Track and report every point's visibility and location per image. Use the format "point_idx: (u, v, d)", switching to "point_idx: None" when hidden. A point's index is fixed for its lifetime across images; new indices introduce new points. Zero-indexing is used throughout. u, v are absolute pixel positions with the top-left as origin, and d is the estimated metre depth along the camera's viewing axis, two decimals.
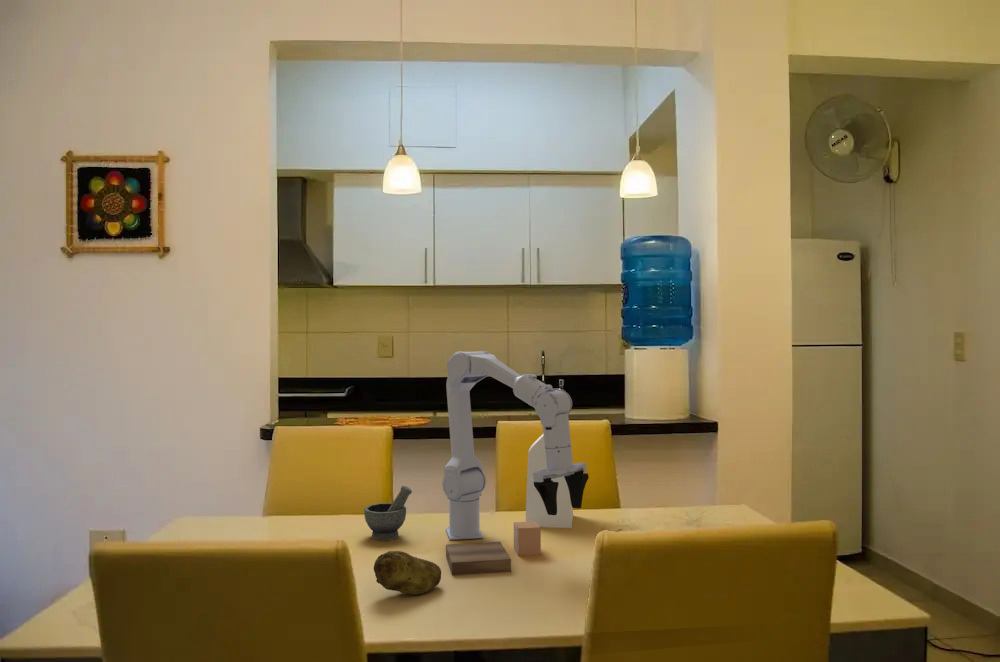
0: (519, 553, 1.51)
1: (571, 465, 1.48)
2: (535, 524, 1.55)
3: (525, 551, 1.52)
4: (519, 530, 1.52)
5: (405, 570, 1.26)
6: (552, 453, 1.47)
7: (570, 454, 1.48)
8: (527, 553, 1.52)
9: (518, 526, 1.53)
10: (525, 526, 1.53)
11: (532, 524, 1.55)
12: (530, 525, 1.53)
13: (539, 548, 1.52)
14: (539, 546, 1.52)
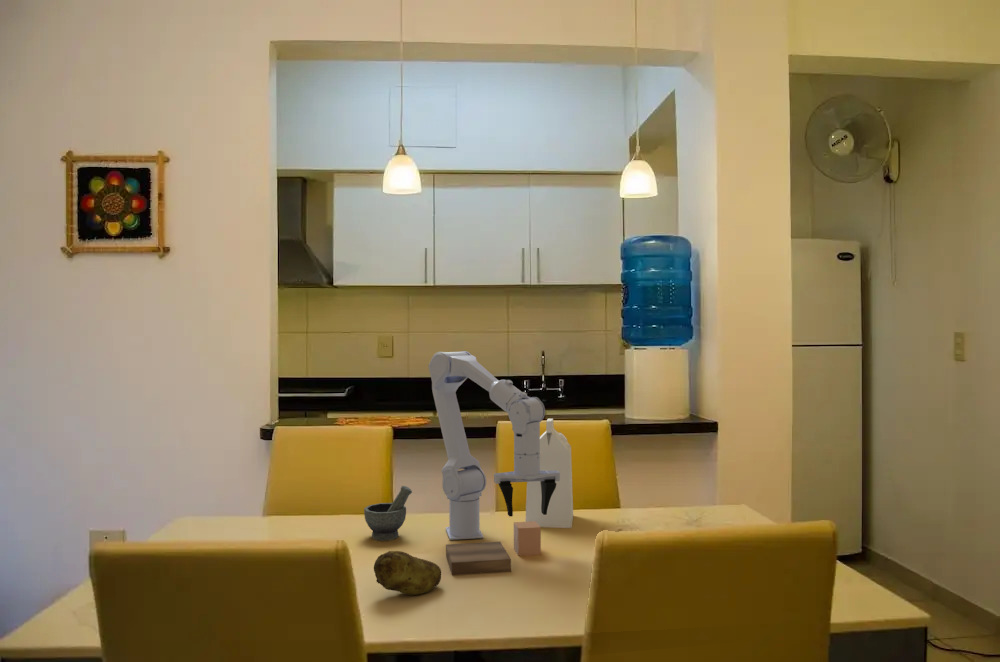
0: (519, 553, 1.51)
1: (532, 473, 1.52)
2: (535, 524, 1.55)
3: (525, 551, 1.52)
4: (519, 530, 1.52)
5: (405, 570, 1.27)
6: (515, 458, 1.53)
7: (532, 462, 1.52)
8: (527, 553, 1.52)
9: (518, 526, 1.53)
10: (525, 526, 1.53)
11: (532, 524, 1.55)
12: (530, 525, 1.53)
13: (539, 548, 1.52)
14: (539, 546, 1.52)
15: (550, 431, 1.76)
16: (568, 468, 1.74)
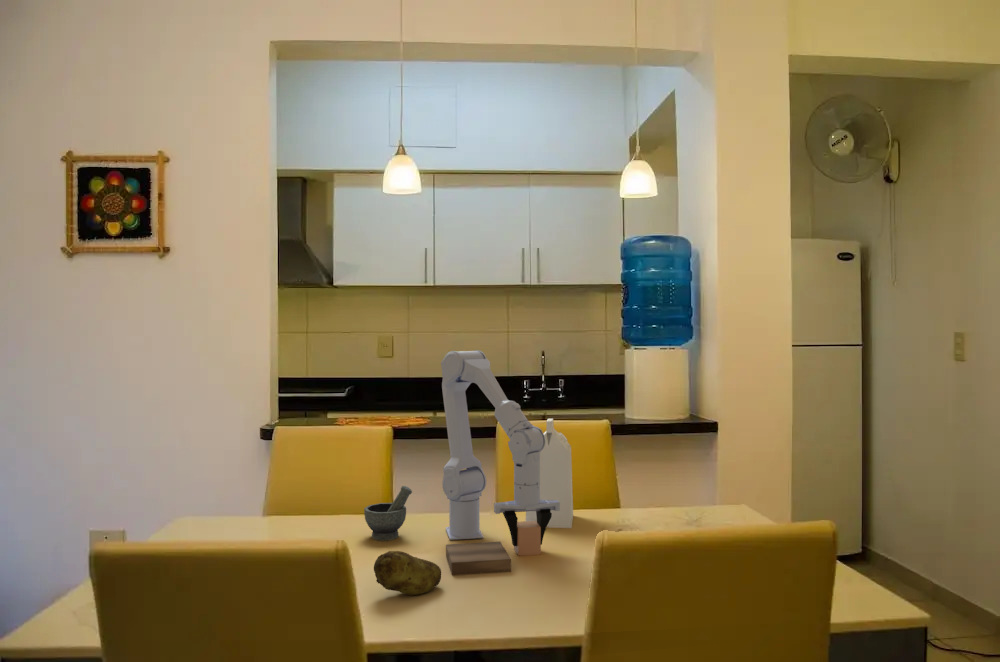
0: (519, 553, 1.51)
1: (532, 503, 1.52)
2: (535, 523, 1.55)
3: (525, 550, 1.52)
4: (519, 530, 1.52)
5: (405, 570, 1.27)
6: (515, 488, 1.53)
7: (532, 492, 1.52)
8: (527, 553, 1.52)
9: (518, 526, 1.53)
10: (525, 526, 1.53)
11: (532, 523, 1.55)
12: (530, 525, 1.53)
13: (539, 548, 1.52)
14: (539, 546, 1.52)
15: (550, 431, 1.76)
16: (568, 468, 1.74)
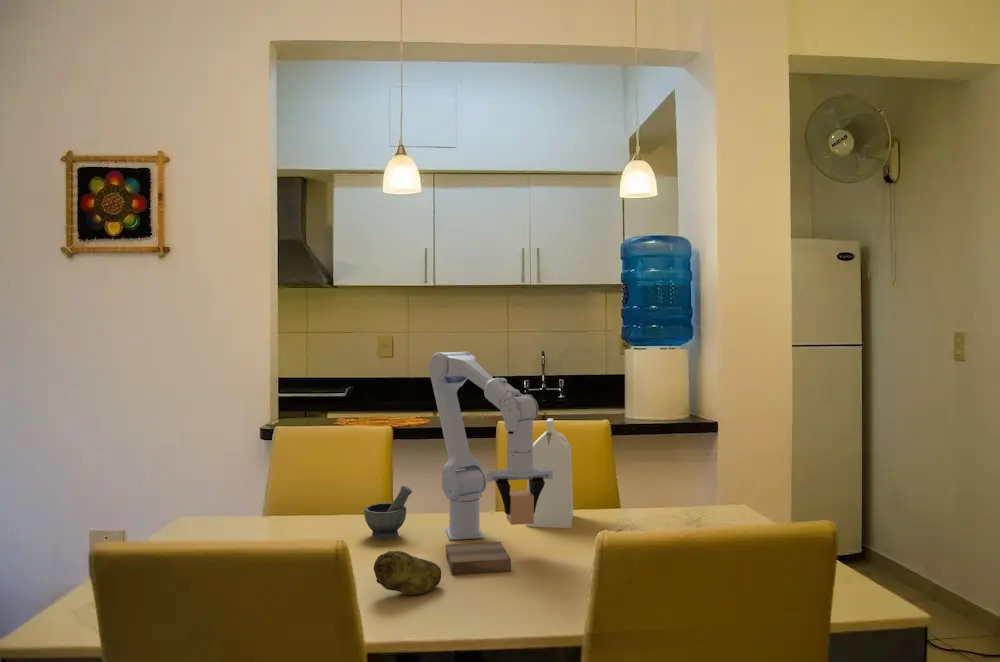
0: (512, 522, 1.50)
1: (525, 471, 1.51)
2: (528, 493, 1.54)
3: (518, 519, 1.50)
4: (512, 498, 1.50)
5: (405, 570, 1.27)
6: (508, 456, 1.52)
7: (525, 460, 1.51)
8: (520, 522, 1.51)
9: (511, 495, 1.52)
10: (518, 495, 1.52)
11: (525, 493, 1.54)
12: (523, 494, 1.52)
13: (532, 517, 1.51)
14: (532, 515, 1.51)
15: (550, 431, 1.76)
16: (568, 468, 1.74)
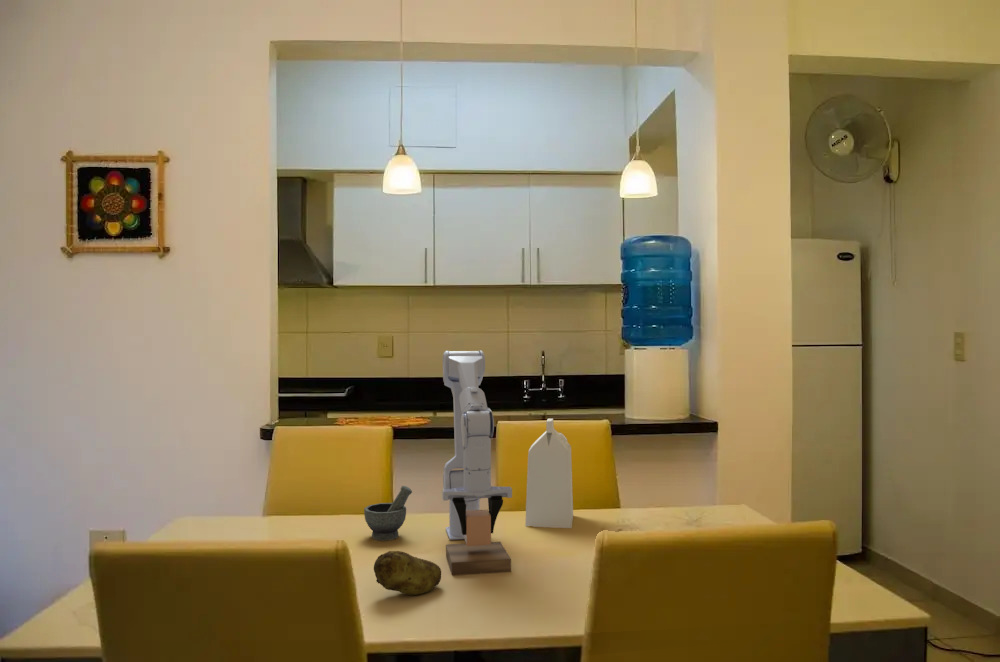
0: (468, 543, 1.43)
1: (482, 489, 1.44)
2: (486, 512, 1.47)
3: (474, 540, 1.44)
4: (468, 518, 1.43)
5: (405, 570, 1.27)
6: (464, 474, 1.45)
7: (482, 478, 1.44)
8: (476, 543, 1.44)
9: (467, 514, 1.45)
10: (475, 514, 1.45)
11: (483, 512, 1.47)
12: (480, 514, 1.45)
13: (489, 538, 1.44)
14: (489, 535, 1.44)
15: (550, 431, 1.76)
16: (568, 468, 1.74)
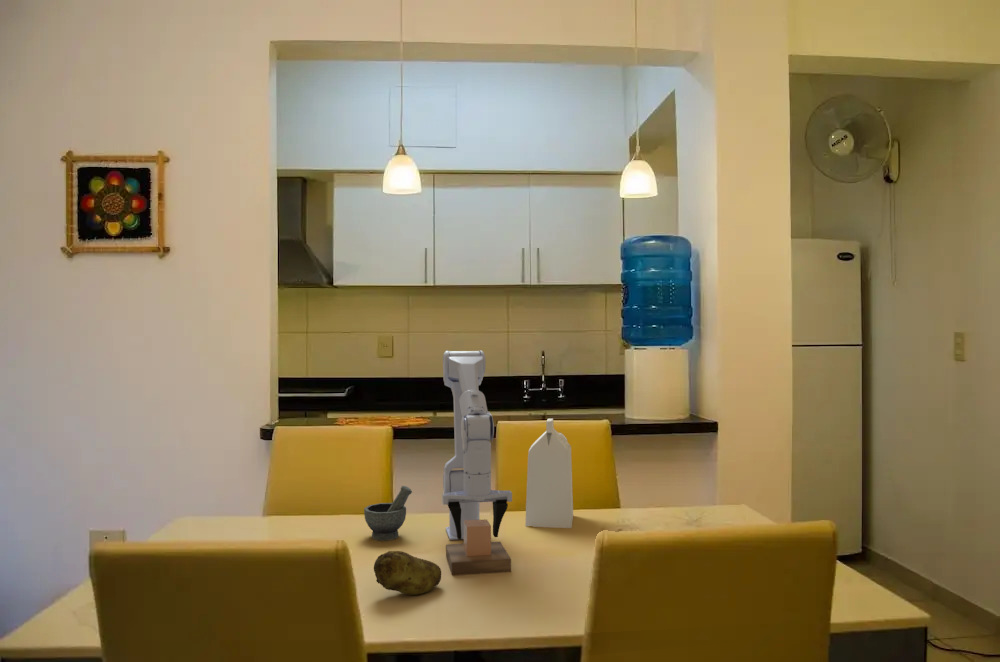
0: (468, 553, 1.43)
1: (482, 493, 1.44)
2: (486, 522, 1.47)
3: (474, 550, 1.44)
4: (468, 529, 1.43)
5: (405, 570, 1.27)
6: (464, 478, 1.45)
7: (482, 482, 1.44)
8: (476, 553, 1.44)
9: (467, 524, 1.45)
10: (475, 524, 1.45)
11: (483, 522, 1.47)
12: (480, 524, 1.45)
13: (489, 548, 1.44)
14: (489, 545, 1.44)
15: (550, 431, 1.76)
16: (568, 468, 1.74)
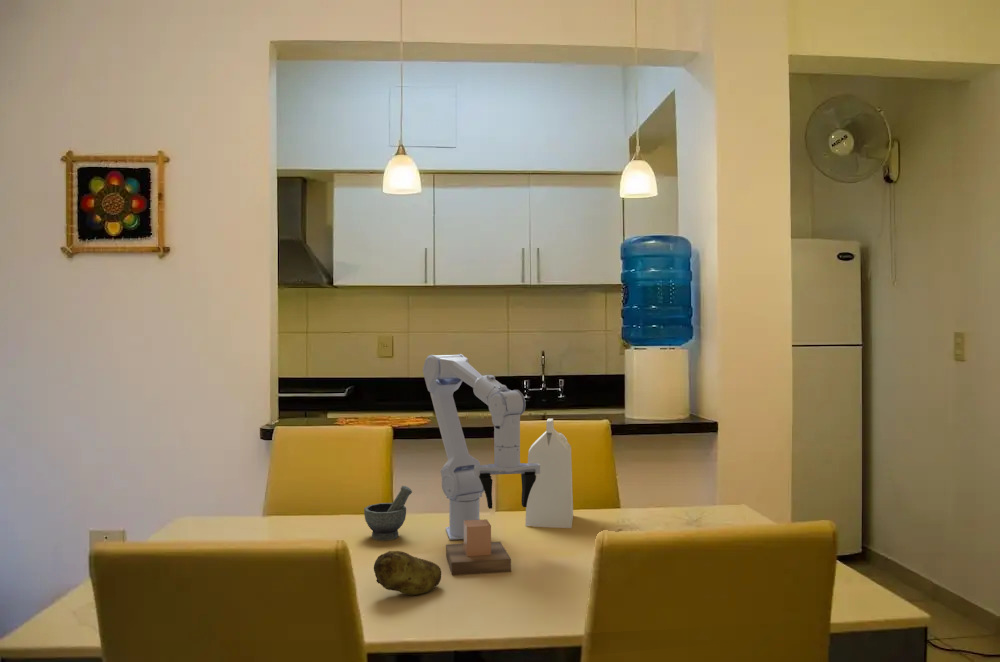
0: (468, 553, 1.43)
1: (512, 465, 1.52)
2: (486, 522, 1.47)
3: (474, 550, 1.44)
4: (468, 529, 1.43)
5: (405, 570, 1.27)
6: (495, 450, 1.53)
7: (512, 455, 1.52)
8: (476, 553, 1.44)
9: (467, 524, 1.45)
10: (475, 524, 1.45)
11: (483, 522, 1.47)
12: (480, 524, 1.45)
13: (489, 548, 1.44)
14: (489, 545, 1.44)
15: (550, 431, 1.76)
16: (568, 468, 1.74)
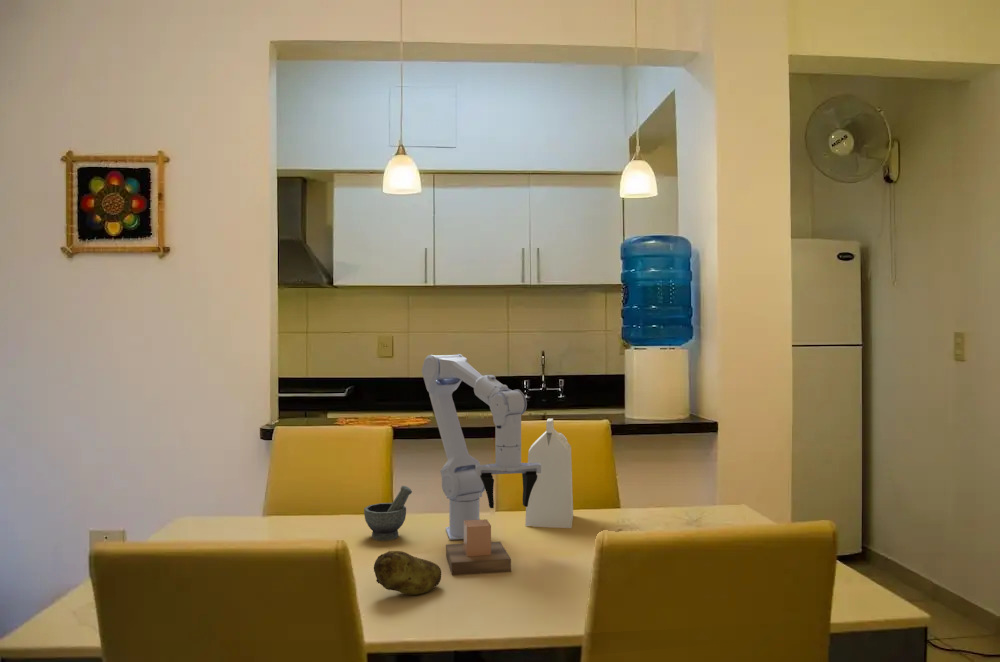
0: (468, 553, 1.43)
1: (513, 465, 1.52)
2: (486, 522, 1.47)
3: (474, 550, 1.44)
4: (468, 529, 1.43)
5: (405, 570, 1.27)
6: (496, 450, 1.53)
7: (513, 454, 1.52)
8: (476, 553, 1.44)
9: (467, 524, 1.45)
10: (475, 524, 1.45)
11: (483, 522, 1.47)
12: (480, 524, 1.45)
13: (489, 548, 1.44)
14: (489, 545, 1.44)
15: (550, 431, 1.76)
16: (568, 468, 1.74)
